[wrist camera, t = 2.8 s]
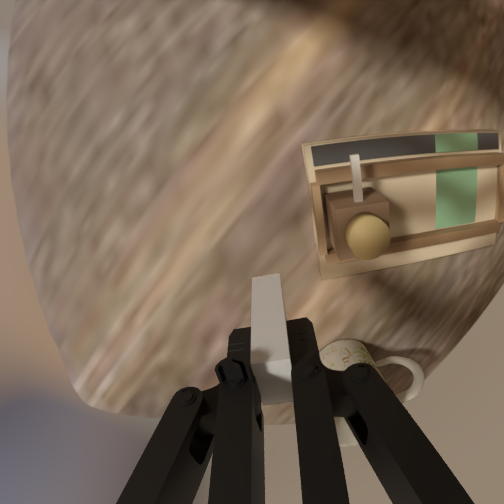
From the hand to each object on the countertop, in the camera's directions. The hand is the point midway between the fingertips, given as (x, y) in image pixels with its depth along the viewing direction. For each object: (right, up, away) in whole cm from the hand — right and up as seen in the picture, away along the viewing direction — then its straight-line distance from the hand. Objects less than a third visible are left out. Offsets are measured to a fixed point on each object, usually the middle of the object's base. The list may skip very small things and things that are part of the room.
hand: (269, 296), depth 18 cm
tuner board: (+14, +8, +8) cm, 18 cm away
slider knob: (+7, +7, +7) cm, 12 cm away
